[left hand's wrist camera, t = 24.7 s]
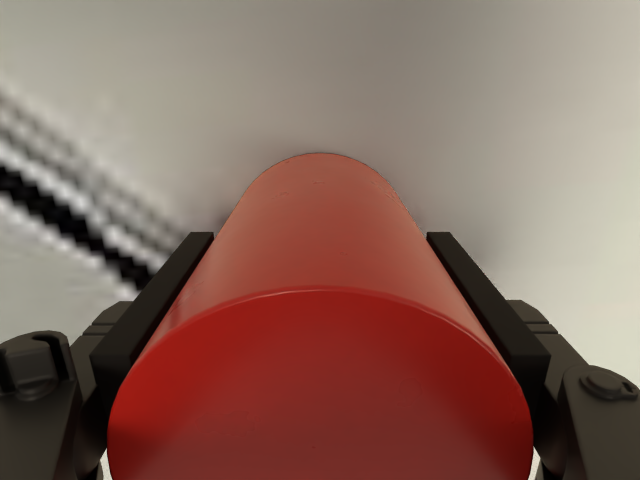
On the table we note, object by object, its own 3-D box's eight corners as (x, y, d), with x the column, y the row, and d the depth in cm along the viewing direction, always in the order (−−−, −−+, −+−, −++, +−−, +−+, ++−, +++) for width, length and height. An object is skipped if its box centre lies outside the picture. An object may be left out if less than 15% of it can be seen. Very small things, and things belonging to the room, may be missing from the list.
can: (210, 283, 17) (69, 549, 8) (266, 122, 15) (167, 210, 5) (363, 337, 18) (412, 633, 9) (439, 195, 16) (628, 382, 6)
